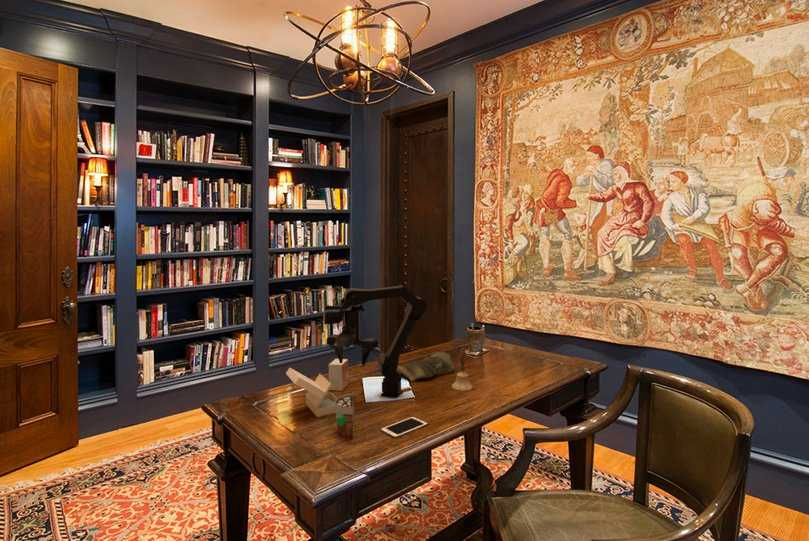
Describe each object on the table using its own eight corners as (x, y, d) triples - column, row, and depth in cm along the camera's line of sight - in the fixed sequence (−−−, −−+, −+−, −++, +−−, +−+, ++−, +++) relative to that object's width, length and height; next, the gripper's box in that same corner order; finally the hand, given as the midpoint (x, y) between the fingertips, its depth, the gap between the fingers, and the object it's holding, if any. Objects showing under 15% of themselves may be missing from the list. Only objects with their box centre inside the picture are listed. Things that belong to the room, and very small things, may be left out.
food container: (335, 423, 151) (334, 393, 150) (354, 422, 151) (353, 392, 150) (332, 440, 138) (331, 408, 137) (353, 439, 139) (352, 407, 138)
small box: (342, 391, 179) (341, 364, 178) (328, 390, 180) (328, 364, 179) (349, 384, 187) (348, 358, 186) (335, 383, 188) (335, 358, 187)
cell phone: (379, 431, 145) (379, 428, 145) (413, 418, 155) (413, 415, 154) (395, 440, 139) (395, 437, 139) (429, 426, 149) (429, 423, 149)
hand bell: (477, 387, 183) (477, 347, 181) (464, 392, 177) (464, 352, 175) (460, 382, 188) (460, 344, 187) (447, 387, 182) (447, 348, 181)
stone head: (385, 366, 201) (432, 350, 218) (389, 385, 201) (436, 368, 218) (412, 367, 186) (461, 350, 203) (416, 388, 185) (465, 369, 203)
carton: (331, 399, 170) (331, 392, 170) (343, 411, 160) (343, 403, 159) (306, 404, 166) (306, 397, 166) (317, 417, 155) (316, 409, 155)
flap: (320, 374, 167) (295, 359, 162) (332, 384, 157) (304, 368, 152) (306, 396, 166) (280, 381, 160) (317, 407, 155) (289, 392, 150)
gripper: (318, 325, 164) (318, 367, 166) (365, 329, 158) (365, 374, 159) (334, 319, 175) (334, 359, 176) (378, 323, 168) (378, 365, 169)
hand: (352, 364), depth 170 cm, fingers open, 9 cm apart
